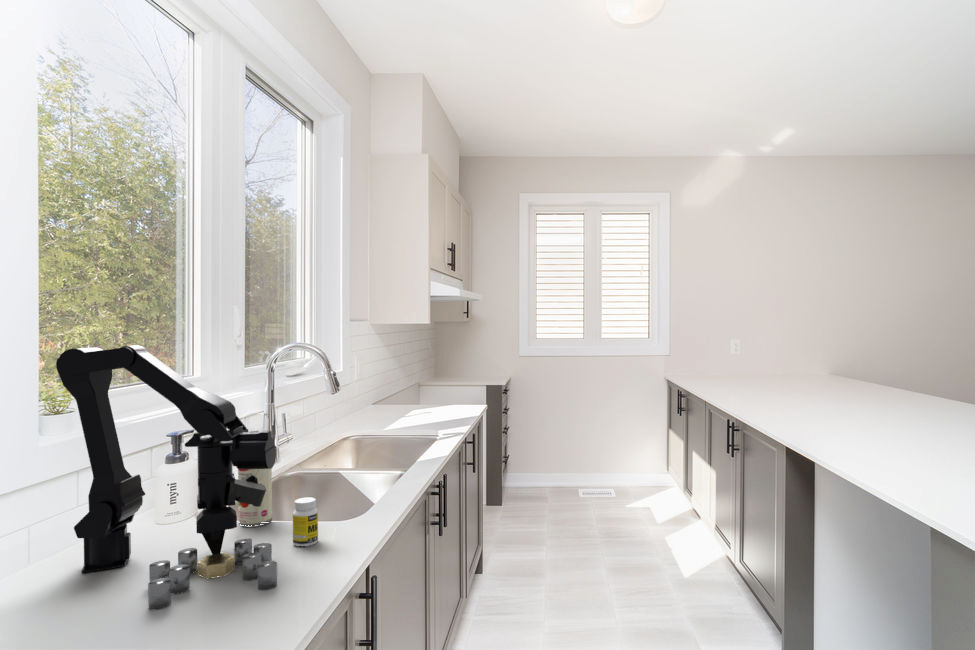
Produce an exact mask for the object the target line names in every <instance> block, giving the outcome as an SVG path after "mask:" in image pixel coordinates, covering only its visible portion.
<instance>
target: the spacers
mask: <svg viewBox="0 0 975 650" xmlns="http://www.w3.org/2000/svg"><path fill="white" fill-rule="evenodd" d="M233 546H234V547H233V549H234V555H233V556H234V564H236V563H237V564H236V565H242V579H243V580H244V581H252V580H253V579H254V580H257V589H258V590H263V591H264V590H265V591H266V589H267V590H270V589H274V588H275V587H277V586H278V566H277V565H278V563H277V561H276V560H272V559H273V556H272V555H273V554H272V553H273V552H272V549H273V547H272V543H270V542H261V543H258V544H256V545H255V544H254V545H253V539H252V538H241V539H237V540H236V541H234V544H233ZM242 563H243V564H242ZM148 569H149V573H148V574H149V575H148V576H149V582H148V584H147V590H148V591H147V592H148V593H147V594H148V596H147V599H148V606H147V607H149V608H148V609H149V610H152V609H156V610H161V609H164V607H165V608H167V607H169V606H170V605H171V604H170V603H172V599H171V598H172V594H171V593H179V594H182V593H181V592H183V593H186V592H188V591H189V590H190V589H189V588H191V586H190V585H191V582H190V581H191V580H190V579H191V577H190V576H191V574H190V573H192V574H194V573H196V572H198V548H196V547H195V548H194V547H188V548H184V549H181V550H179V551H178V552H177V565H174V566H172V567H171V561H170V560H169V559H168V560H166V559H165V560H164V559H163V560H158V561H157V560H156V561H154V562H151V563H150V564H149V566H148ZM195 571H196V572H195ZM193 572H194V573H193ZM256 578H257V579H256ZM188 589H189V590H188ZM187 590H188V591H187ZM185 591H186V592H185ZM169 604H170V605H169ZM160 608H161V609H160Z"/></svg>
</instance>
